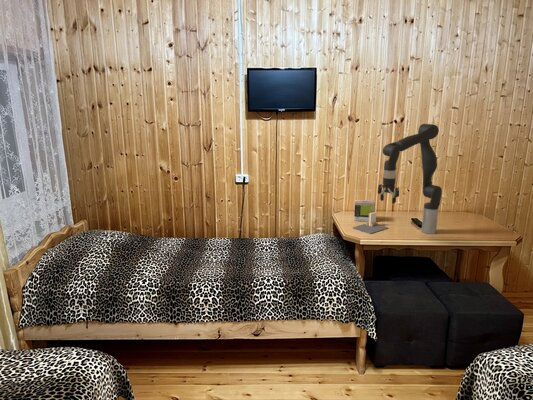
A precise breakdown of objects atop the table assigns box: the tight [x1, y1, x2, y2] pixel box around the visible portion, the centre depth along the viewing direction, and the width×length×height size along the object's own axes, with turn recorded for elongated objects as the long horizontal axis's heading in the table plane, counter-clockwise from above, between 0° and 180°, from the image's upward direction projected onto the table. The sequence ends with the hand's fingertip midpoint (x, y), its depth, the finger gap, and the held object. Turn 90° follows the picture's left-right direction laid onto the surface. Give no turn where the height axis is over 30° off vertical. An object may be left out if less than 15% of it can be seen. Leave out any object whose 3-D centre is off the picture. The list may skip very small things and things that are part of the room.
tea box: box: [353, 199, 376, 222], centre depth 292 cm, size 15×10×15 cm, turn 76°
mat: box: [352, 223, 389, 235], centre depth 273 cm, size 20×16×1 cm
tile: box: [367, 212, 377, 226], centre depth 278 cm, size 6×2×9 cm, turn 127°
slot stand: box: [365, 221, 379, 227], centre depth 279 cm, size 7×6×2 cm
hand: (387, 201), depth 244 cm, fingers open, 8 cm apart
